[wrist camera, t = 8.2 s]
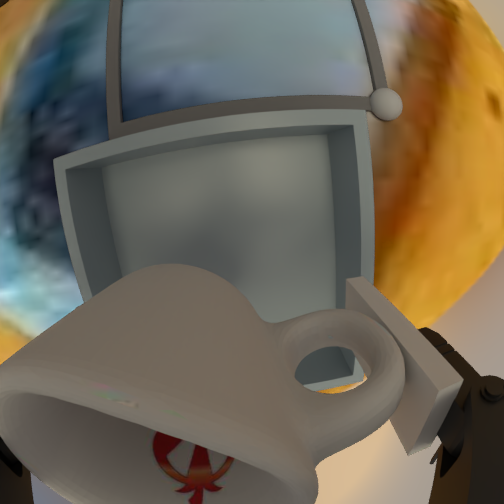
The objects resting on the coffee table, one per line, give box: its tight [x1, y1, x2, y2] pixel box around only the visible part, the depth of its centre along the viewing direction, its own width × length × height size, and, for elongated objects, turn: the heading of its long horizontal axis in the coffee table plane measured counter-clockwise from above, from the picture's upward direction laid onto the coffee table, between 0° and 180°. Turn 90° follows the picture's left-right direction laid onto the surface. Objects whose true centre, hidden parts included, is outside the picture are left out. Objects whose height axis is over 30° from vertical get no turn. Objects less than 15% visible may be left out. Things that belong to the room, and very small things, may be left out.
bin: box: [53, 109, 375, 391], centre depth 17 cm, size 17×17×5 cm
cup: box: [0, 264, 405, 504], centre depth 7 cm, size 11×8×8 cm
